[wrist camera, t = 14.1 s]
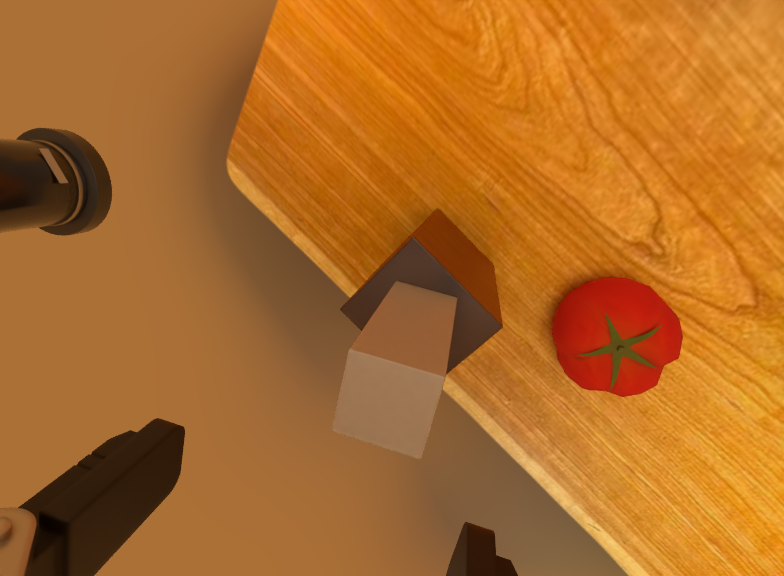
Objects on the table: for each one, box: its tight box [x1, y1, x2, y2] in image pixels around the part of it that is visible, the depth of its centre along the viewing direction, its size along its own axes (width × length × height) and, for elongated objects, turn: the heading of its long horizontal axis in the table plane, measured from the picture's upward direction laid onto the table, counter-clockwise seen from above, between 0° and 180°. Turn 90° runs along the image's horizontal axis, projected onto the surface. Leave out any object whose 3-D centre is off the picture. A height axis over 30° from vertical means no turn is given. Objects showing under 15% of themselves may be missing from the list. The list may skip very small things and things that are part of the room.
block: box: [332, 281, 457, 459], centre depth 24 cm, size 4×4×11 cm
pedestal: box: [340, 208, 503, 374], centre depth 37 cm, size 8×7×18 cm
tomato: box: [552, 278, 683, 397], centre depth 41 cm, size 11×11×8 cm
